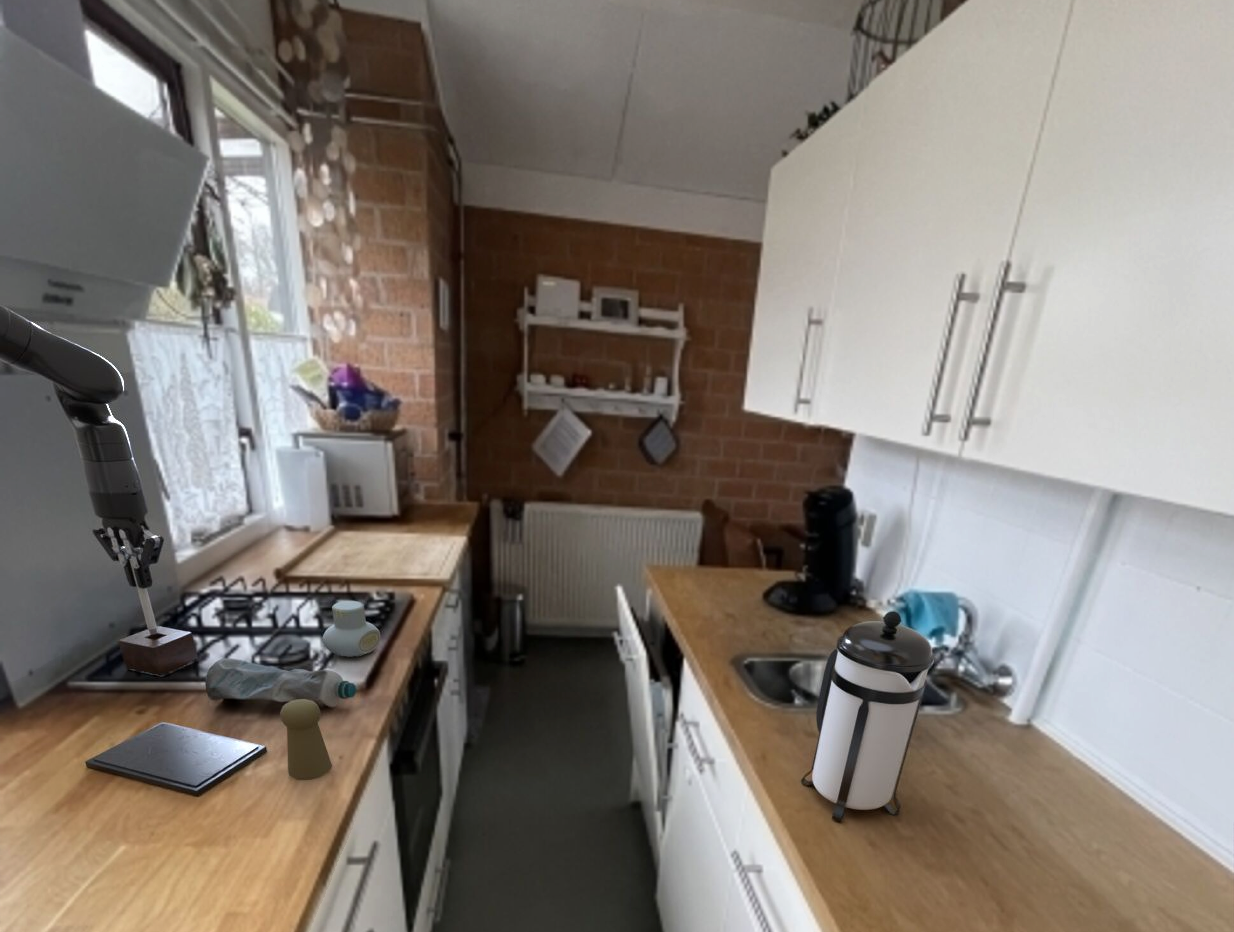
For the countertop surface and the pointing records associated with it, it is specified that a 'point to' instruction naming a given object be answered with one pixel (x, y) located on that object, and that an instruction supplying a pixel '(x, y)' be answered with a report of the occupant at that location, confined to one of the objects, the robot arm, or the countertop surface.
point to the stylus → (146, 606)
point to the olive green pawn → (304, 740)
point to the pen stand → (158, 650)
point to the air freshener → (350, 631)
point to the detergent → (274, 683)
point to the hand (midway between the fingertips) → (141, 586)
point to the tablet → (177, 758)
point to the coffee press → (868, 713)
